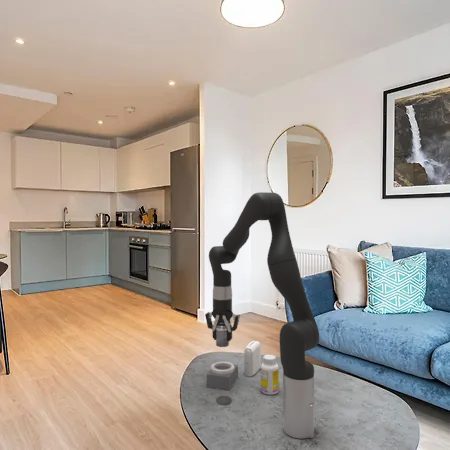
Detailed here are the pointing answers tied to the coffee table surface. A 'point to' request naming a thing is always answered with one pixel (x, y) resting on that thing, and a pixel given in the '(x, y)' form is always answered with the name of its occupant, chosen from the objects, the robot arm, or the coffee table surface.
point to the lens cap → (223, 400)
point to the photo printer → (252, 358)
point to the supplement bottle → (269, 375)
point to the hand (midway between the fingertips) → (222, 339)
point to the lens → (221, 335)
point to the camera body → (222, 375)
